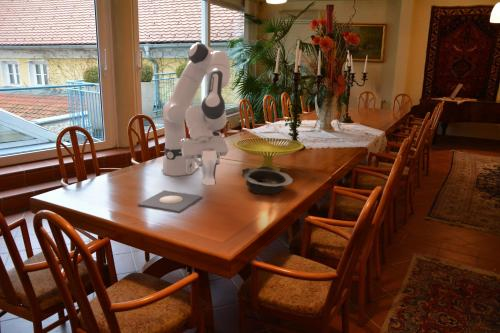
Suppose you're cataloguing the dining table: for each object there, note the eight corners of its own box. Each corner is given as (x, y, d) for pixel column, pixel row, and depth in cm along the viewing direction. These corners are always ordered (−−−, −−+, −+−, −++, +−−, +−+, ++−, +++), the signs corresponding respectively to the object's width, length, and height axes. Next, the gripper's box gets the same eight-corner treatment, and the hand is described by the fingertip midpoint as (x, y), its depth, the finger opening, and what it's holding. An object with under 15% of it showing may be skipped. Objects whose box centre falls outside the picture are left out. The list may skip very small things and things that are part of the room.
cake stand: (222, 175, 215) (222, 148, 211) (245, 158, 252) (245, 135, 248) (295, 183, 203) (297, 154, 199) (308, 164, 241) (309, 140, 237)
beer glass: (219, 181, 173) (219, 148, 169) (213, 186, 166) (213, 151, 162) (204, 180, 175) (204, 147, 171) (198, 185, 168) (197, 150, 164)
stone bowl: (238, 181, 203) (240, 164, 201) (286, 185, 205) (288, 168, 203) (240, 197, 179) (242, 177, 177) (295, 200, 181) (297, 181, 179)
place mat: (164, 191, 186) (164, 189, 186) (202, 197, 179) (202, 195, 179) (138, 205, 168) (138, 203, 168) (179, 212, 161) (179, 210, 161)
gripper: (179, 135, 167) (187, 163, 161) (224, 132, 176) (233, 158, 170) (176, 143, 172) (184, 171, 166) (220, 140, 181) (229, 166, 175)
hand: (209, 164), depth 168 cm, fingers closed on beer glass, 7 cm apart
